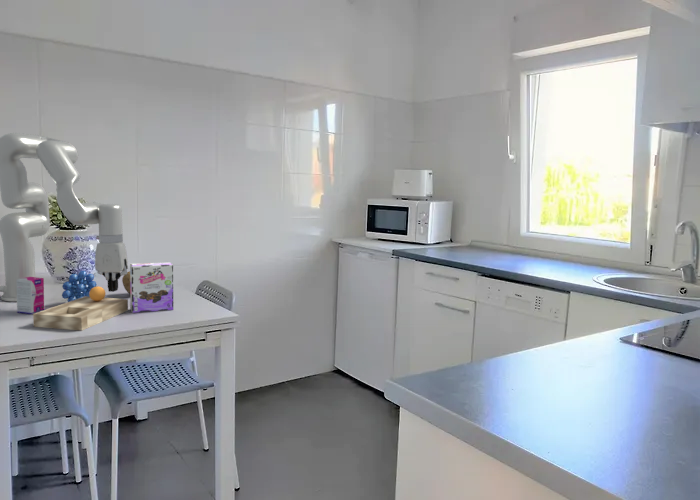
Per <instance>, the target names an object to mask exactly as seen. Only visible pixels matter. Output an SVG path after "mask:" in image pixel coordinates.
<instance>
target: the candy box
mask: <svg viewBox="0 0 700 500" xmlns="http://www.w3.org/2000/svg"><path fill="white" fill-rule="evenodd" d="M129 271H130V294H129V295H130V299H129V300H130V302H129V303H130V304H129V305H130V311H131V313H132V314H133V313H134V314H135V313H148V312H161V311H162V312H163V311H173V310H174V264H173V263H172V262H168V261H167V262H149V263H148V262H147V263H144V262H143V263H129Z"/></svg>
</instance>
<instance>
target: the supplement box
mask: <svg viewBox="0 0 700 500" xmlns="http://www.w3.org/2000/svg"><path fill="white" fill-rule="evenodd" d="M44 282H45V281H44V277H37V276H35V277H26V278H21V279H17V301H16V309H17V310H16V313H18V314H22V315H24V314H25V315H33V314H34V313H37V312H40V311H43V310H45V290H44V289H45V283H44Z"/></svg>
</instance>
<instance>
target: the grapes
mask: <svg viewBox="0 0 700 500" xmlns="http://www.w3.org/2000/svg"><path fill="white" fill-rule="evenodd" d="M94 279H95V276H94V274H93V273H87V271H85V270H80V271H79V272H78V274H77V273H72V274H70V275H69V277H68V280H67V281H64V282H63V283H62V286H61V287H62V289H63V292H62V293H61V297H62V298H63V299H66V300H67V302H70V301H73V300H76V299H79V298H82V297H85V296H88V297H90V296H89V292H90V290H91V289H92V288H93V287H97V282H96V281H95V280H94Z"/></svg>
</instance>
